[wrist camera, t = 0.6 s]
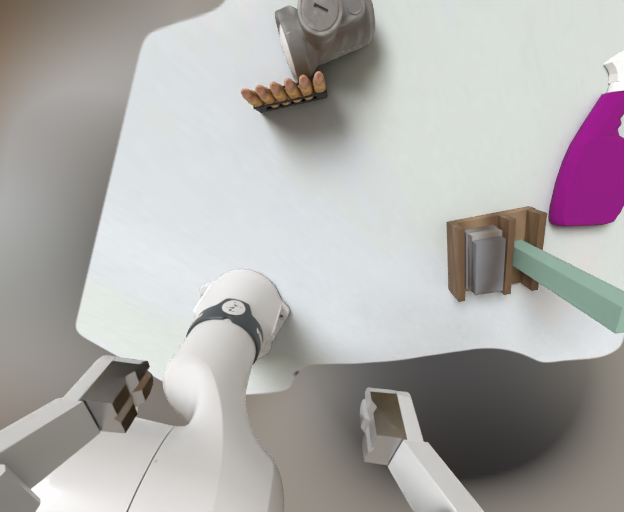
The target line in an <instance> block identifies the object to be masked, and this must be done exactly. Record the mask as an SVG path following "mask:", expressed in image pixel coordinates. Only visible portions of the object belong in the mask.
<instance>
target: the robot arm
mask: <svg viewBox="0 0 624 512" xmlns="http://www.w3.org/2000/svg"><path fill="white" fill-rule="evenodd" d="M289 312H290V309H289V307H288V306H287V305H286V304H285V303H284V302H283V301H282V300H281V298H280V296H279V294H278V291H277V289H276V288H275V286H274V285H273V284H272V282H271V281H270V280H268V279H267V278H266V277H264V276H263V275H261V274H259V273H257V272H254V271H250V270H243V269H239V270H232V271H229V272H226V273H224V274H223V275H221V276H220V277H219V278H218V279H217V280H215V281H213V282H209V283H206V284H204V285H202V286H201V288H200V301H199V302H198V304H197V306H196V307H195V309H194V313H195V320H194V321H193V323H192V324H191V326H190V328H189V330H188V332H187V335H186V339H185V340H184V342H183V343H182V344H181V346H180V347H179V349H178V350H177V351H176V353H175V354H174V356H173V357H172V358H171V360H170V361H169V363H168V364H167V366H166V369H165V372H164V376H163V389H164V392H165V395H166V397H167V399H168V401H169V403H170V405H171V406H172V408H173V409H174V410H175V411H176V412H177V413H178V414H179V415H180V416H181V417H182V418H183V419H184V421H185V422H186V423H187V425H186V426H176V427H175V426H171V425H167V424H162V423H158V422H154V421H150V420H145V419H141V418H137V417H136V416H137V414H138V411H137V407H138V406H139V405H141V404H142V403H143V402H145V401H146V399H147V398H148V396H149V394H150V392H151V389H152V386H153V376H152V374H151V373H150V372H149V371H147V370H148V369H149V367H150V366H149V363H148V361H144V360H136V359H129V358H121V357H115V356H106V355H103V356H102V357H100V358H99V359H97V360H96V362H95V363H94V364H93V365H92V366H91V367H90V368H89V369H88V371H87V372H86V373H85V374H84V375H83V376H82V377H81V378H80V379H79V381H78V382H77V383H76V384H75V385H74V386H73V387H72V388H71V389H70V390H69V392H68V393H67V394H66V395H65V396H64V397H63V398H57V399H55V400H54V401H52V402H50V403H48V404H47V405H45V406H43V407H41V408H40V409H38V410H36V411H34V412H32V413H31V414H29V415H27V416H25V417H24V418H22V419H20V420H18V421H17V422H15V423H13V424H11V425H9V426H8V427H6V428H4V429H2V430H1V431H0V512H284V491H283V485H282V480H281V476H280V473H279V470H278V468H277V465H276V463H275V461H274V460H273V458H272V457H271V456H270V455H269V454H268V453H267V451H266V450H265V449H264V448H263V446H262V445H261V443H260V442H259V440H258V439H257V437H256V435H255V433H254V431H253V429H252V426H251V424H250V421H249V418H248V415H247V410H246V404H245V403H246V401H245V398H246V389H247V385H248V380H249V376H250V372H251V368H252V365H253V364H254V363H255V361H256V360H257V359H259V358H262V357H263V356H264V355H265V354H268V353H269V351H270V348H271V345H272V344H271V343H272V342H273V340H274V338H275V337H276V335H277V333H278V332H279V330H280V328H281V326H282V325H283V323H284V321H285V320H286V318H287V316H288V314H289ZM280 315H283V316H280ZM365 397H366V398H365V399H363V400H362V403H361V406H360V426H361V428H362V430H363V431H364V433H365V434H364V436H363V439H362V446H363V456H364V462H369V463H376V464H383V465H388V468H389V470H390V472H391V473H392V475H393V477H394V478H395V480H396V482H397V484H398V486H399V487H400V489H401V491H402V492H403V494H404V496H405V498H406V500H407V501H408V503H409V505H410V506H411V508H412V510H413V512H484V511H483V510H482V509H481V507H480V506H479V505H478V504H477V502H476V501H475V500H474V499H473V497H472V496H471V495H470V494H469V493H468V491H467V490H466V489H465V488H464V486H463V485H462V484H461V483H460V481H459V480H458V479H457V478H456V476H455V475H454V474H453V473H452V472H451V470H450V469H449V468H448V467H447V465H446V464H445V463H444V462H443V460H442V459H441V458H440V457H439V456H438V454H437V453H436V452H435V451H434V449H433V448H432V447H431V446H430V444H429V443H428V442H424V441H423V437H422V434H421V430H420V427H419V423H418V420H417V416H416V413H415V409H414V406H413V402H412V399H411V396H410V394H409V393H408V392H402V391H394V390H386V389H376V388H367V389H366V392H365Z"/></svg>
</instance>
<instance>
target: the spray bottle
mask: <svg viewBox="0 0 624 512" xmlns="http://www.w3.org/2000/svg"><path fill="white" fill-rule="evenodd" d="M604 66H605V67H606V68H607V69H608V72H609V79H608V83H610V85H609V88H608V91H607V93H606V94H603V95H601V97H600V98H599V100H598V101H597V103H596V104H595V106H594V107H593V109H592V111H591V112H590V114H589V115H588V117H587V118H586V120H585V121H584V123H583V124H582V126H581V127H580V129H579V131H578V132H577V134H576V136H575V137H574V139H573V141H572V142H571V144H570V146H569V148H568V150H567V153H566V155H565V157H564V159H563V162H562V165H561V167H560V170H559V173H558V176H557V179H556V182H555V187H554V191H553V196H552V200H551V205H550V212H549V220H550V222H551V224H554V225H557V226H587V225H603V224H607V223H611V222H614V220H615V219H616V218H617V216H618V215H619V213H620V212H621V210H622V208H623V206H624V138H622V137H621V136H619V133H618V128H619V126H620V125H621V120H620V119H621V117H622V116H623V114H624V51H623V52H620V53H618V54H617V55H616V56H614V57H613V58H611V59H610V60H608V61H607V62H605V63H604Z"/></svg>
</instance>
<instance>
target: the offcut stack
mask: <svg viewBox="0 0 624 512" xmlns="http://www.w3.org/2000/svg"><path fill="white" fill-rule="evenodd" d="M505 246H506V239H505V238H503V237H502V230H500V229H498V227H496V226H494V225H488V226H483V227H478V228H472V229H467V230H465V288H466V289H468V288H470V289H471V291H472V292H473V293H474V294H475V295H479V294H485V293H492V292H498V291H503V278H504V262H505Z"/></svg>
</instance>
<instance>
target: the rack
mask: <svg viewBox="0 0 624 512" xmlns="http://www.w3.org/2000/svg"><path fill="white" fill-rule="evenodd" d="M546 218H547V213H545V212H542V211H539V210H536V209H535V208H532V207H529V206H528V207H522V208H517V209H512V210H507V211H502V212H496V213H491V214H486V215H481V216H475V217H470V218H465V219H460V220H454V221H449V222H447V252H448V287H449V290H450V292H451V293H452V294H453V295H454V296H455V298H456V299H457V300H458V301H459V302H461V301H465V291H469V290H471V289H470V288H468V289H466V288H465V230H467V229H472V228H478V227H483V226H488V225H494V226H496V227H498V229H500V230H502V237H503V238H505V239H506V246H505V262H504V278H503V291H501V292H502V293H503V294H504V295H507V294H511V284H513V283H519V282H520V283H522V284H523V285H525V286H526V287H527V288H529V289H530V290H532V291H533V290H538V284H539V283H538V282H537V281H535V280H534V279H532V278H531V277H529V276H528V275H526V274H525V273H523V272H522V271H520V270H519V269H517V268H516V267H514V266H513V254H514V241H516V240H523V241H525V242H527V243H529V244H531V245H533V246H535V247H537V248H539V249H541V250H543V243H544V235H545V226H546Z"/></svg>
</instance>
